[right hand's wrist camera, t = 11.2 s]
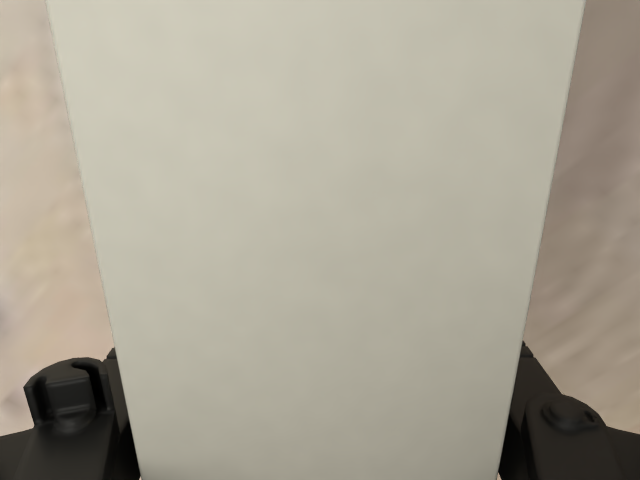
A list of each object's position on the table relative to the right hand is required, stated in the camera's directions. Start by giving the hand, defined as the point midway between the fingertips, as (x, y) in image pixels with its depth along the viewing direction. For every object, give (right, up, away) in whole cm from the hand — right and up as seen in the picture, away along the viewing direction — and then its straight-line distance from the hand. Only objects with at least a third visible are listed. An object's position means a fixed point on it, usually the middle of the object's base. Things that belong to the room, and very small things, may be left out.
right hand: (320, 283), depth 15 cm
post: (0, +28, -11) cm, 30 cm away
